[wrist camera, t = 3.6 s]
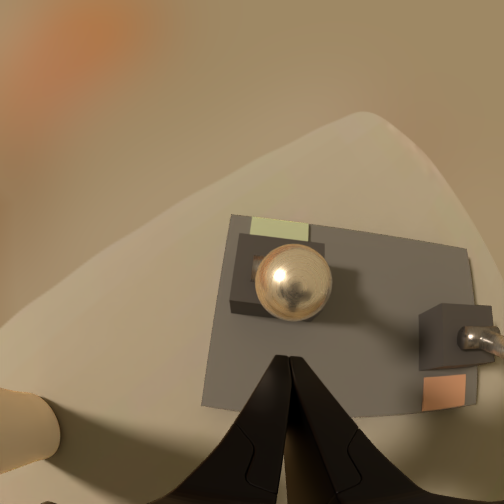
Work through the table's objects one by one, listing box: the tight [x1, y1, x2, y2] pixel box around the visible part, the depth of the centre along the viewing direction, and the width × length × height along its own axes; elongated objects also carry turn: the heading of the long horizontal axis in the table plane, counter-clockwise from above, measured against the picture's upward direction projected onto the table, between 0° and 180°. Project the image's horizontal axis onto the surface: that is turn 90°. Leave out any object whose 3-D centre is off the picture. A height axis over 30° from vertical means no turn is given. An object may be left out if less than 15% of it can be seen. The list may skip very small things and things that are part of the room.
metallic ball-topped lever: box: [251, 244, 332, 321], centre depth 13 cm, size 3×3×8 cm
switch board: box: [201, 214, 495, 417], centre depth 18 cm, size 13×20×4 cm, turn 83°
